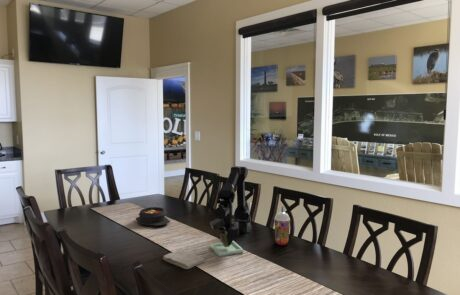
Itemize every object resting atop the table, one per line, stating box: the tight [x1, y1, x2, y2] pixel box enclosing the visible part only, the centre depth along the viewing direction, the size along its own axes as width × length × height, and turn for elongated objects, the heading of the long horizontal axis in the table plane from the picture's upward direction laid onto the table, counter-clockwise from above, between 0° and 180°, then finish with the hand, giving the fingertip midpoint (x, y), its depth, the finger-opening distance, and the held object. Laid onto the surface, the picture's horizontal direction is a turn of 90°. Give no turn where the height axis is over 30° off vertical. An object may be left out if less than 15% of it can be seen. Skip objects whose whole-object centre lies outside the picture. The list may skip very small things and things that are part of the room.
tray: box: [209, 240, 244, 257], centre depth 187 cm, size 13×13×2 cm
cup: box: [219, 229, 230, 247], centre depth 187 cm, size 8×7×8 cm
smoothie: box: [273, 206, 291, 246], centre depth 196 cm, size 8×8×20 cm
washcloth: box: [162, 248, 206, 270], centre depth 174 cm, size 12×18×3 cm, turn 51°
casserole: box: [135, 206, 171, 227], centre depth 231 cm, size 25×19×8 cm
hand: (226, 243), depth 187 cm, fingers closed on cup, 6 cm apart
